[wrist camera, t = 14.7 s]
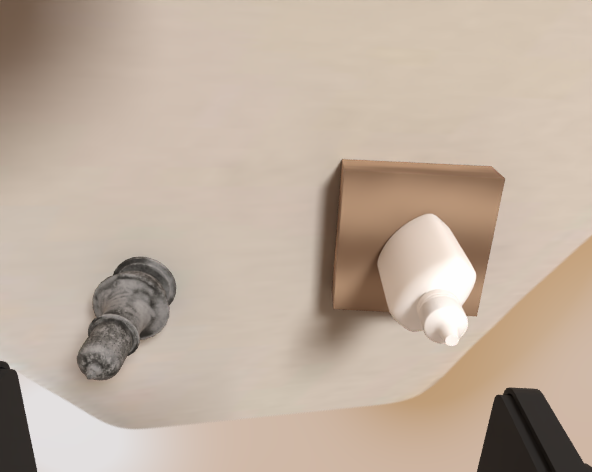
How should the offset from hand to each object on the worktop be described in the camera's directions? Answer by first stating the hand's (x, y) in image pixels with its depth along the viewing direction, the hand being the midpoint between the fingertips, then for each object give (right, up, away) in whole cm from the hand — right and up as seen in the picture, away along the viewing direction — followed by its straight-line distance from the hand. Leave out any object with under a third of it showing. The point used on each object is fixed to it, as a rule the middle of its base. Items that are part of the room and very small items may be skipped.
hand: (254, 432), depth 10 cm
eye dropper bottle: (+9, +3, +28) cm, 30 cm away
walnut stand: (+9, +4, +31) cm, 33 cm away
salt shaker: (-12, 0, +34) cm, 36 cm away
